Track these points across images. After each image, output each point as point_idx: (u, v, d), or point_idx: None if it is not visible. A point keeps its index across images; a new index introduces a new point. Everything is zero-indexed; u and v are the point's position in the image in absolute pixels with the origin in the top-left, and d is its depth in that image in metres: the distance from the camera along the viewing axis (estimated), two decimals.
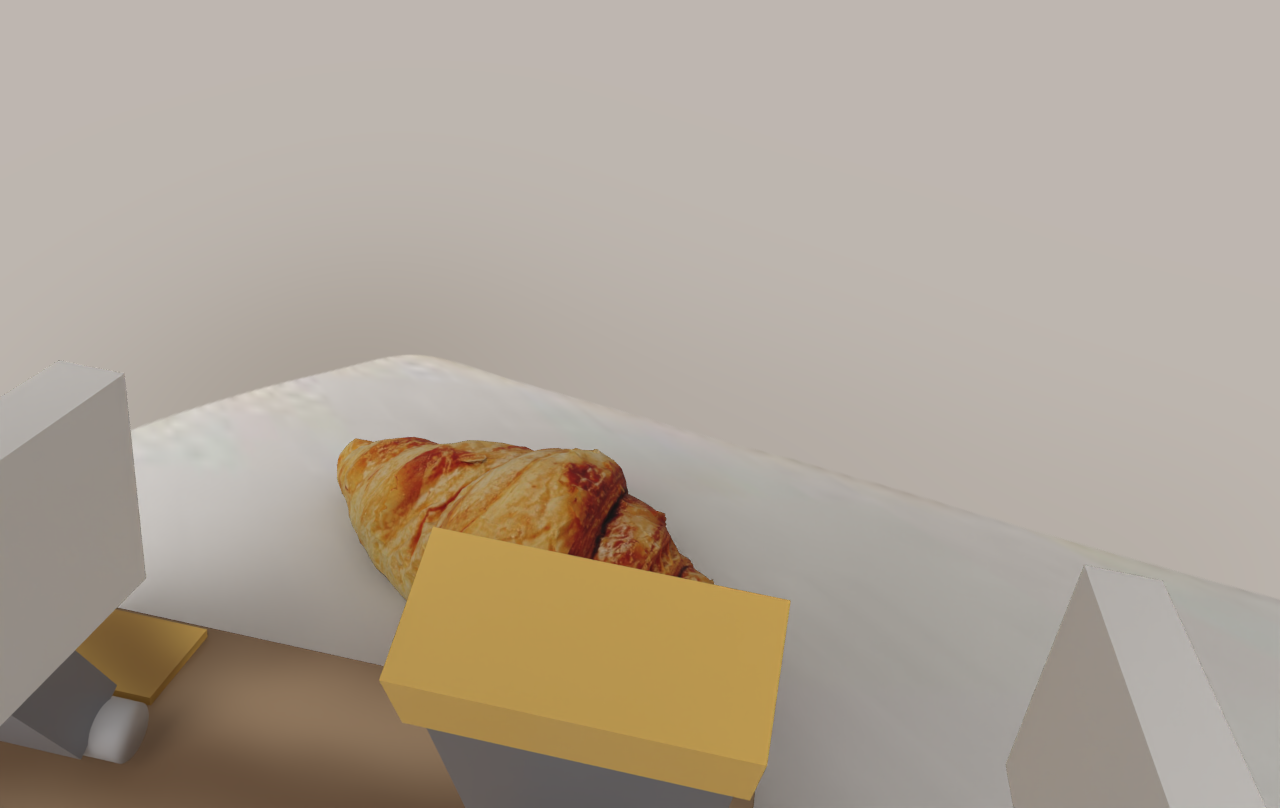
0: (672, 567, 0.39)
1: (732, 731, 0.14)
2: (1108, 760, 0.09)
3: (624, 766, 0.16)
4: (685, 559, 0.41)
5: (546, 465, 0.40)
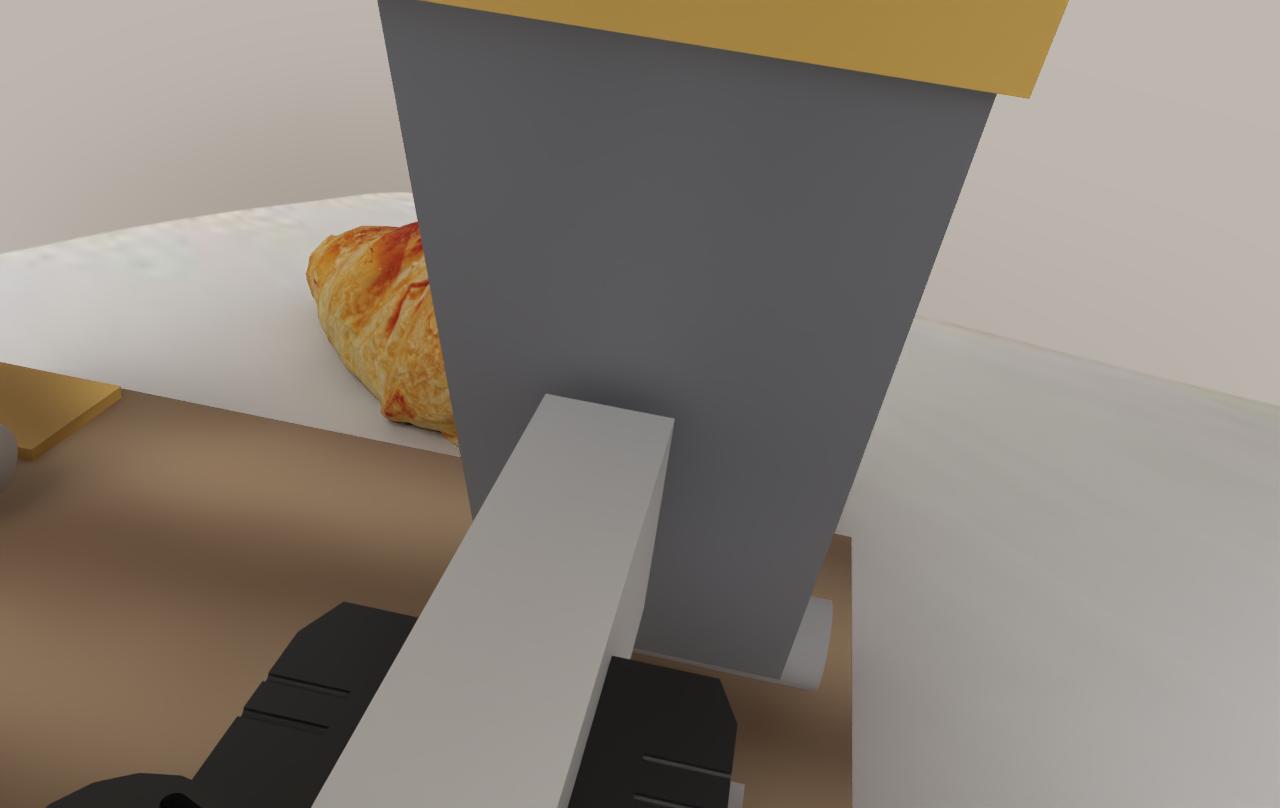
0: None
1: None
2: None
3: (781, 18, 0.08)
4: None
5: None
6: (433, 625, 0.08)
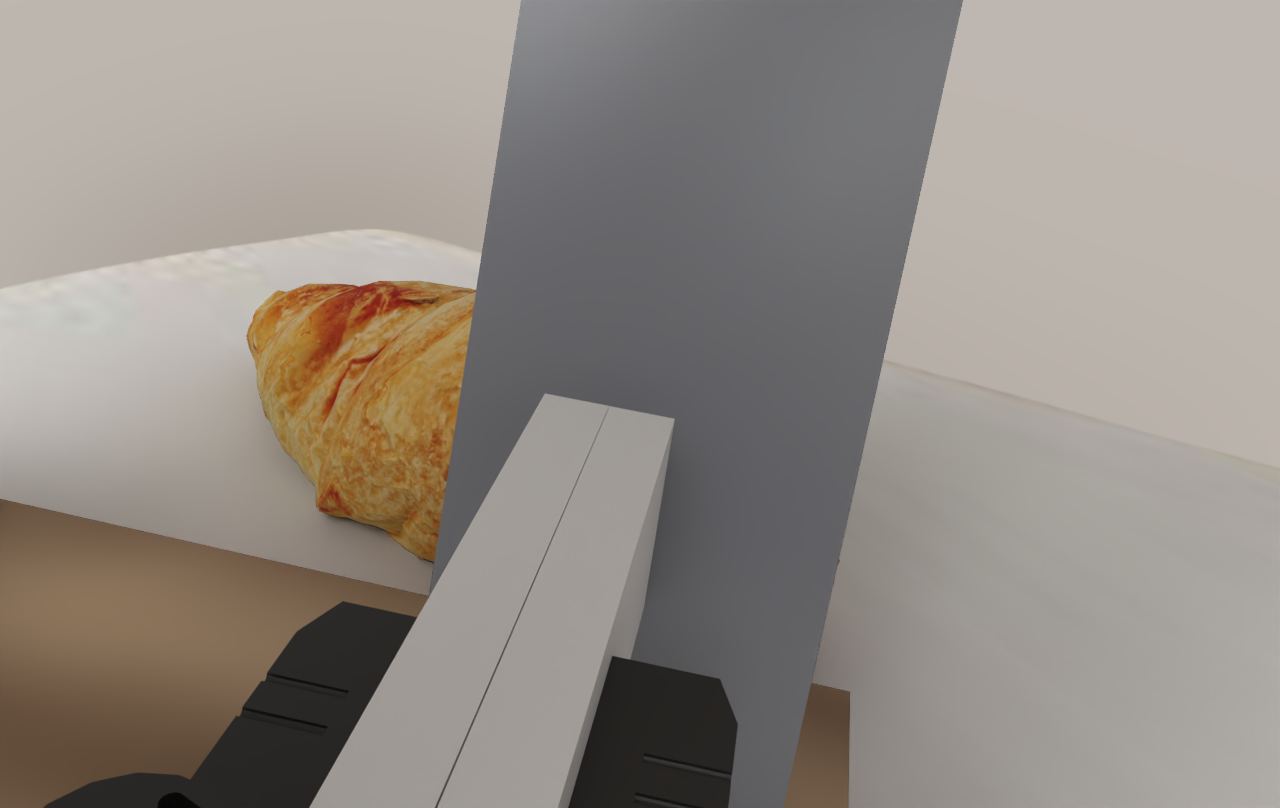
0: None
1: None
2: None
3: None
4: None
5: None
6: (432, 624, 0.08)
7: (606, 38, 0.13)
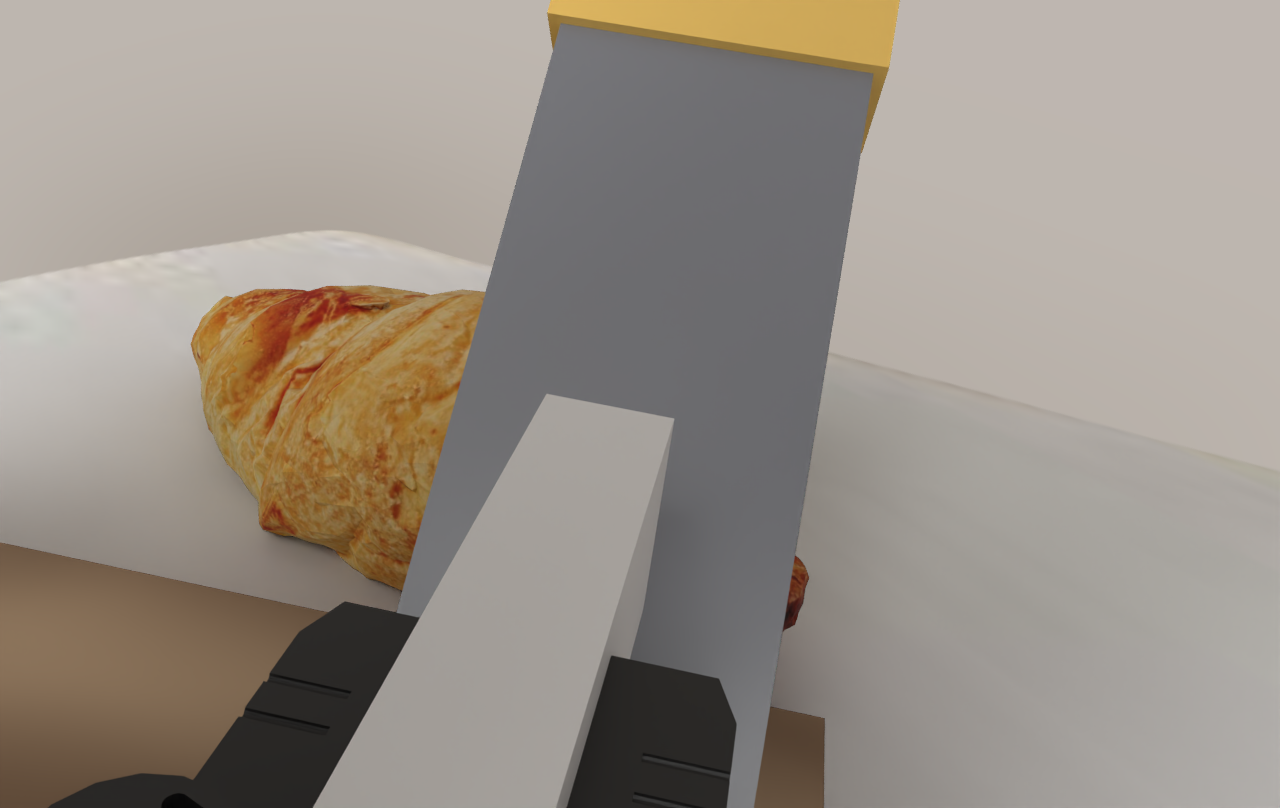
0: None
1: None
2: None
3: (769, 30, 0.17)
4: None
5: (470, 301, 0.26)
6: (434, 625, 0.08)
7: (600, 137, 0.16)
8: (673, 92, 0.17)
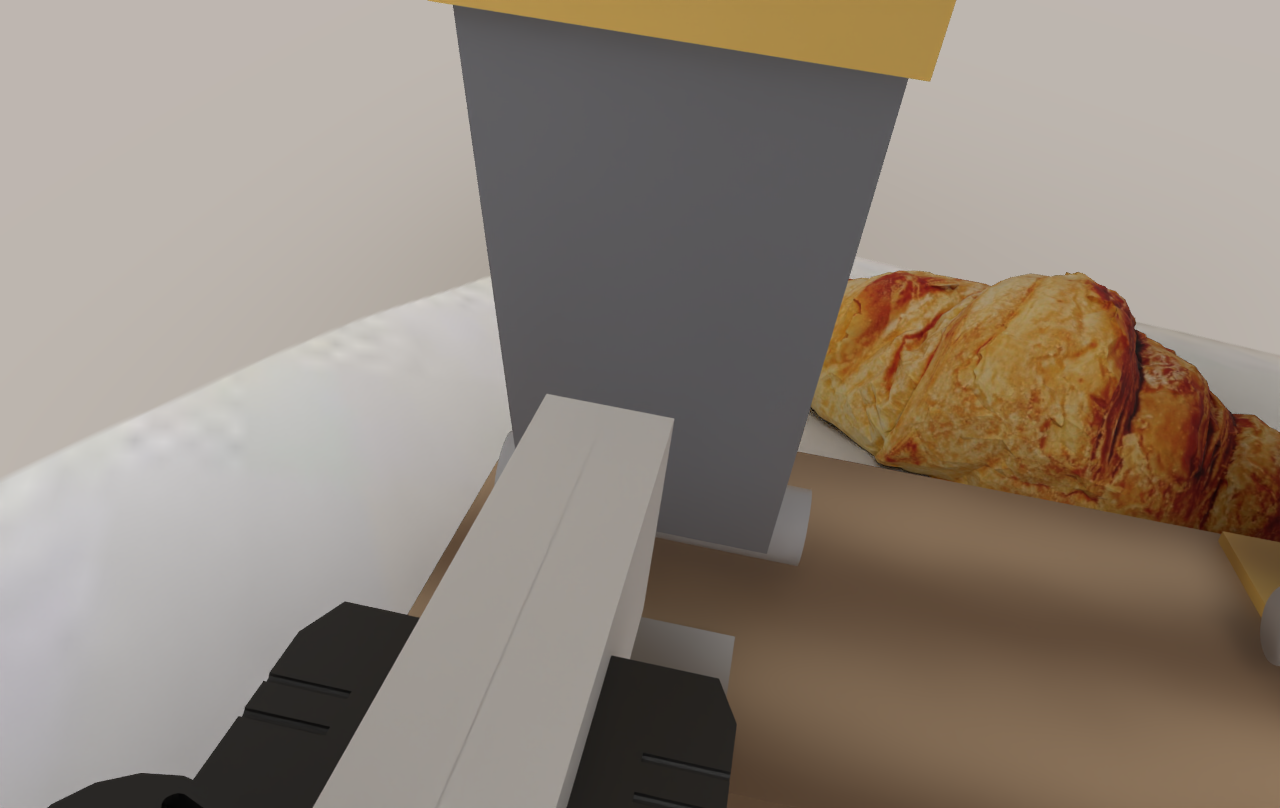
0: (1223, 405, 0.32)
1: None
2: None
3: None
4: None
5: (1061, 282, 0.33)
6: (435, 625, 0.08)
7: None
8: None
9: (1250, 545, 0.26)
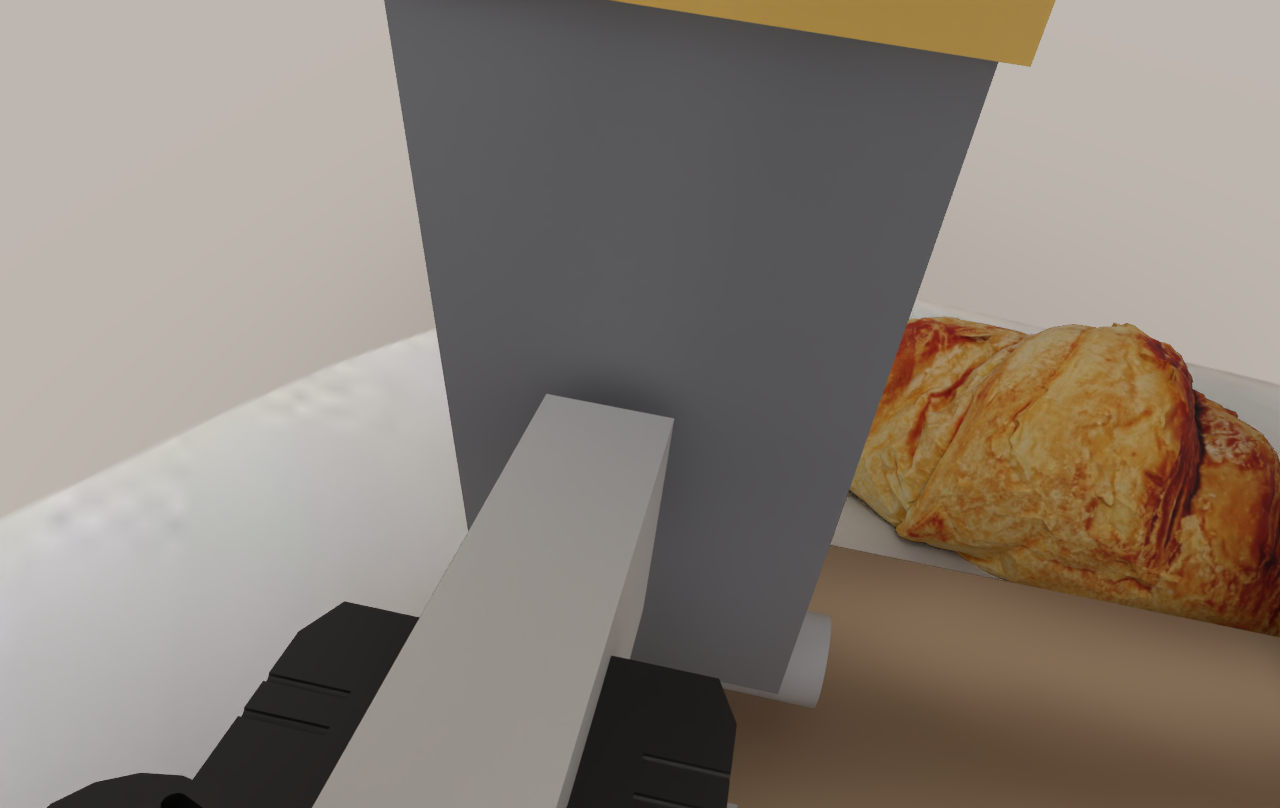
0: None
1: None
2: None
3: None
4: None
5: (1109, 336, 0.29)
6: (434, 625, 0.08)
7: None
8: None
9: None
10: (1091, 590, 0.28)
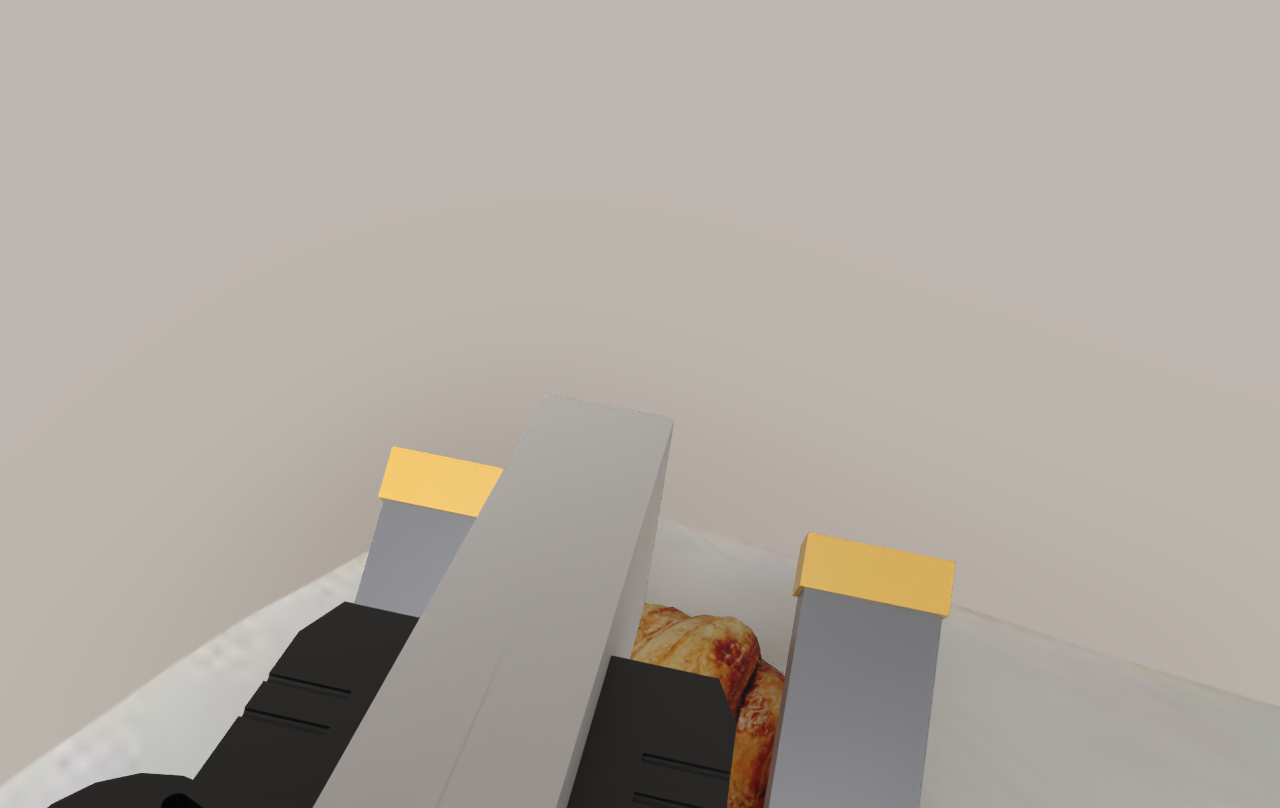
0: None
1: None
2: None
3: (897, 595, 0.39)
4: None
5: (696, 641, 0.47)
6: (435, 625, 0.08)
7: (826, 646, 0.38)
8: (856, 624, 0.39)
9: None
10: None
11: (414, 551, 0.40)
